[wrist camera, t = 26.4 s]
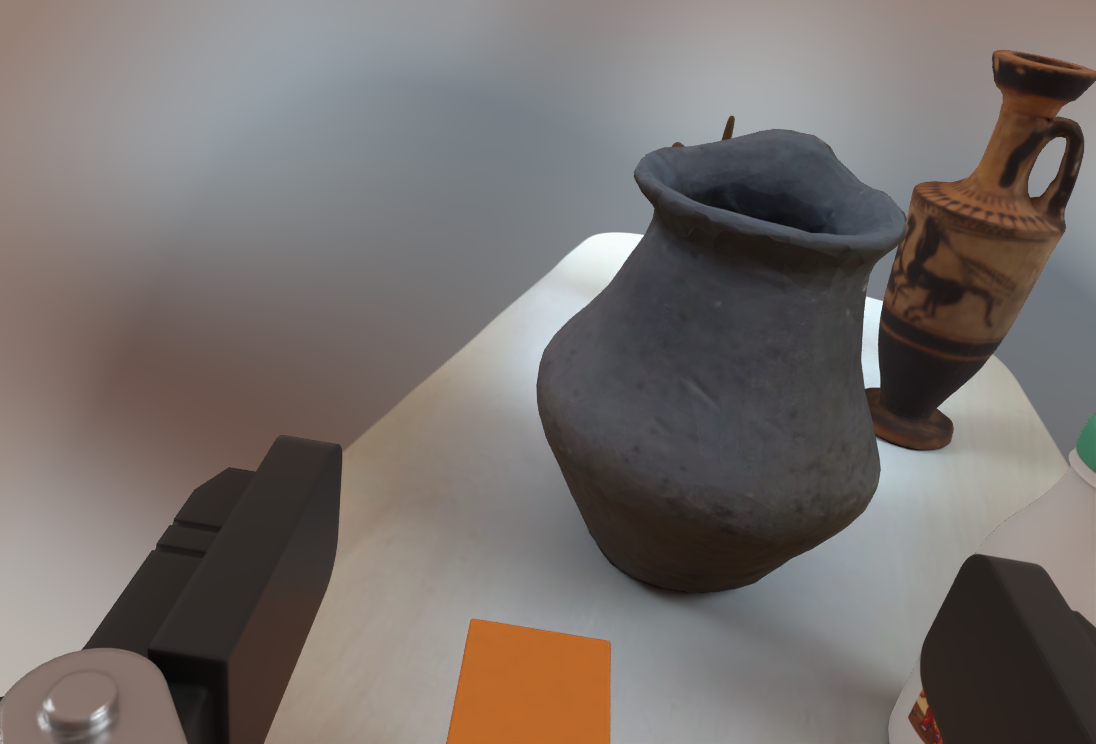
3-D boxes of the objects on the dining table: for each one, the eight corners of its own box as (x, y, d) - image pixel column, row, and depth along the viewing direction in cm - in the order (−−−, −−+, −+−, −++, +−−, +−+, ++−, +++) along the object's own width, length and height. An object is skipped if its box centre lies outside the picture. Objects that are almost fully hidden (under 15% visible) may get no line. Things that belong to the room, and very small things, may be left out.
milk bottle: (855, 707, 47) (1010, 384, 37) (977, 697, 49) (1153, 388, 39) (941, 846, 40) (1155, 498, 31) (1077, 828, 42) (1317, 496, 33)
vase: (819, 421, 73) (955, 46, 59) (853, 377, 82) (979, 39, 67) (952, 477, 69) (1134, 86, 55) (974, 424, 77) (1136, 73, 63)
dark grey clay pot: (457, 576, 51) (519, 147, 39) (575, 408, 69) (643, 83, 57) (814, 714, 46) (1010, 275, 34) (839, 495, 64) (972, 160, 52)
